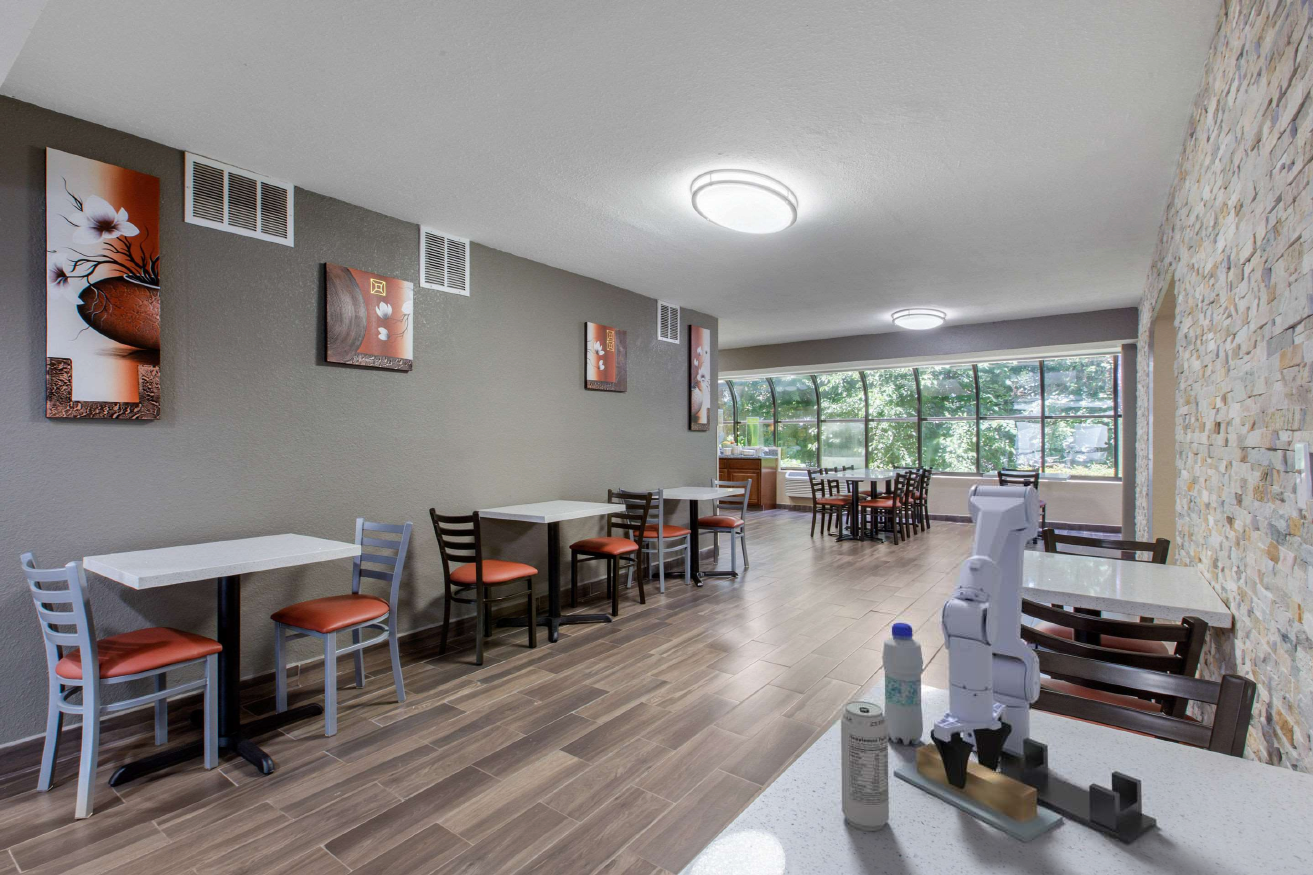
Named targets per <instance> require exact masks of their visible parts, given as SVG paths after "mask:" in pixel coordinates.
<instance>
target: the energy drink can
mask: <svg viewBox="0 0 1313 875" xmlns="http://www.w3.org/2000/svg"><path fill="white" fill-rule="evenodd" d="M883 711H884V710H883V708H882V707H881V706H879V705H878V704H876V703H873V702H870V701H861V700H854V701H849V702H847V703H846V704H845V708H844V711H843V713H842V714H841V717H840V743H841V745H840V746H841V750H840V751H841V753H840V754H841V756H840V758H841V765H840V766H841V812H842V814H843V815H844V817H845V818H846V821H847V822H848V823H849V824H850V825H851V826H852V827H854V828H855V829H858V830H861V831H865V832H876V831H880V830H882V829H883V828H884V827H885V824H886V823H887V822H888V821H889V818H890V813H889V812H890V811H889V809H890V808H889V806H890V805H889V804H890V803H889V802H890V801H889V799H890V797H889V794H890V793H889V791H890V790H889V743H888V742H889V737H888V724H887V721H886V719H885V717H884V712H883Z"/></svg>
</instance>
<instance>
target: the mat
mask: <svg viewBox="0 0 1313 875" xmlns="http://www.w3.org/2000/svg"><path fill="white" fill-rule="evenodd" d="M893 776H897V777H898V778H900V779H902V780H904V781H906V782H908V783H909V784H912V785H914V786H915V787H918V788H920V789H922V790H924V791H925V792H927V793H929V794H931V795H933V796H935V797H937V798H939V799H941V800H943V801H944V802H947V803H948V804H950V805H953V806H955V807H956V808H958V809H960V810H962V811H964V812H966V813H967V814H970V815H971V816H973V817H976V818H978V819H980V820H982V821H983V822H986V823H987V824H989V825H991V826H993V827H995V828H998V829H999V830H1001V831H1003V832H1005V833H1007V834H1008V835H1010V836H1013V837H1014V838H1017V839H1018V840H1020V841H1021V842H1022V841H1023V842H1024V843H1027V842H1030V841H1031V840H1033V839H1035V838H1036V837H1038V836H1039V835H1040V836H1041V834H1044V832H1047V831H1048V830H1050V829H1052V828H1054V827H1055V826H1056V825H1058V824H1060V823H1062V822H1064V817H1063V816H1064V815H1062V814H1060V813H1057V812H1055V811H1053V810H1051V809H1049V808H1046V807H1044V806H1042V805H1040V804H1037V816H1036V817H1034V818H1032V819H1030V820H1028V821H1027V822H1025V823H1021V822H1019V821H1017V820H1015V819H1012V818H1010V817H1008V816H1006V815H1004V814H1002V813H1000V812H998V811H996V810H994V809H992V808H990V807H988V806H986V805H984V804H982V803H980V802H978V801H976V800H974V799H972V798H970V797H968V796H966V795H964V794H961V793H959V792H957V791H955V790H953V789H951V788H949V787H947V786H945V785H943V784H941V783H939V782H937V781H935V780H933V779H931V778H929V777H927V776H925V775H923V774H921V773H919V772H917V760H916V761H914V762H911V763H909V764H908V763H907V764H906V765H903V766H901V767H899V768H896V769H894V770H893Z"/></svg>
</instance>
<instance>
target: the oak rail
mask: <svg viewBox="0 0 1313 875" xmlns="http://www.w3.org/2000/svg"><path fill="white" fill-rule="evenodd" d="M916 761H917V772H919V773H921V774H923V775H925V776H927V777H929V778H931V779H933V780H935V781H937V782H939V783H941V784H943V785H945V786H947V787H949V788H951V789H953V790H955V791H957V792H959V793H961V794H964V795H966V796H968V797H970V798H972V799H974V800H976V801H978V802H980V803H982V804H984V805H986V806H988V807H990V808H992V809H994V810H996V811H998V812H1000V813H1002V814H1004V815H1006V816H1008V817H1010V818H1012V819H1015V820H1017V821H1019V822H1021V823H1025V822H1027V821H1028V820H1030V819H1032V818H1034V817H1036V816H1037V805H1038V803H1037V789H1035V788H1033V787H1030V786H1028V785H1026V784H1023V783H1021V782H1019V781H1017V780H1014V779H1012V778H1010V777H1007V776H1005V775H1003V774H1000V773H998V772H999V771H998V772H997V770H996V771H994V770H991V769H989V768H987V767H984V766H982V765H980V764H979V763H978V762H975V761H973V760H971V759H969V760H968V765H967V776H966V784H965V787H964V788H963V789H959V788H957V787H955V786H953V785H951V784H949V782H948V779H947V775H946V771H945V768H944V764H943V761H942V758H941V756H940V754H939V751H938V749H937V747H936V746H935V744H934V743H931V742H930V743H927V744H925V745H922V746H920V747H916Z"/></svg>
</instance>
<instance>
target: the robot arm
mask: <svg viewBox="0 0 1313 875" xmlns="http://www.w3.org/2000/svg"><path fill="white" fill-rule="evenodd" d="M1040 507H1041V505H1040V496H1039V492H1038V490H1037V489H1036V487H1035V486H1033V485H1028V486H1011V485H1009V486H1008V485H1007V486H1005V485H1004V486H1003V485H980V484H974V485H973V486H972V487H971V488H970V489H969V492H968V496H967V509H968V513H969V516H970V517H971V521H972V523H973V525H974V526H975V532H974V534H975V535H974V541H973V548H972V554H971V557H968V558H966V559H964V560H963V562H961V567H960V570H959V574H958V577H957V581H956V584H955V587H954V592H953V596H952V598H951V599H950V600H946V601H945V602H944V604H943V605H942V606H943V607H942V610H941V620H940V621H941V622H940V624H941V630H942V634H943V636H944V647H945V649H946V650H947V652H948V694H949V696H948V701H949V702H948V703H949V706H948V707H949V708H948V709H947V710H946V712H945V713H944V714H943V715H942V716H941V718H940V719H939V720H937V721H936V722H934V723H933V729H931V730H930V739H931V741H932V742H933V744H934V745H935V746H936V747H937V749H938V751H939V754H940V756H941V758H942V761H943V764H944V768H945V771H946V775H947V779H948V782H949V784H951V785H953V786H955V787H957V788H959V789H963V788H964V787H965V784H966V776H967V765H968V760H970V759H969V758H970V756H971V753H972V751H974V752H976V755H977V763H978V764H980V765H982V766H984V767H987V768H989V769H991V770H994V771H996V772H997V769H998V766H999V763H1000V755H1001V751H1002V749H1003V748H1007V749H1010V750H1012V751H1015V752H1017V753H1020V754H1022V755H1023V739H1026V738H1029V739H1031V738H1030V737H1031V736H1030V735H1031V732H1030V728H1031V726H1030V704H1035V702H1036V701H1037V700H1038V699H1039V696H1040V691H1041V671H1040V658H1039V657H1038V654H1037V653H1036V651H1034V650H1033V649H1032V648H1031V647H1030V646H1028V645H1027V644H1026V643H1025V642H1024V641H1023V640H1022V638H1021V633H1022V632H1021V630H1022V629H1021V628H1022V605H1023V604H1022V603H1023V582H1024V581H1023V580H1024V560H1025V559H1024V557H1025V555H1024V554H1025V550H1026V545H1027V541H1030V540H1032V539H1034V538H1037V537H1038V532H1039V530H1040V512H1041V511H1040V510H1041V509H1040ZM993 654H998V655H999V654H1000V655H1003V656H1004V655H1005V656H1008V657H1009V656H1010V657H1014V658H1018V659H1020V660H1018V659H1012V658H1008V657H1003V656H997V655H993ZM961 734H962V735H961ZM961 736H962V737H961Z"/></svg>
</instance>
